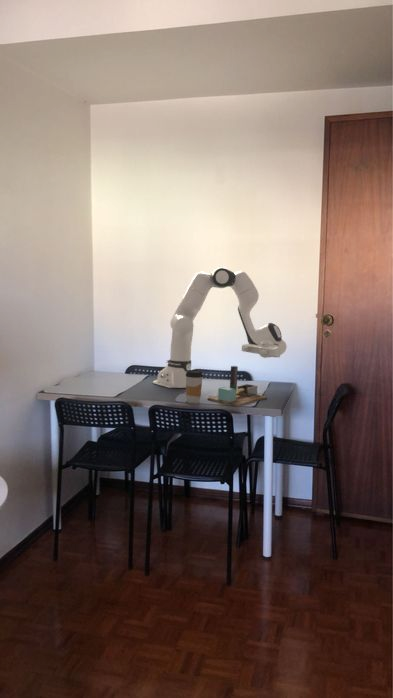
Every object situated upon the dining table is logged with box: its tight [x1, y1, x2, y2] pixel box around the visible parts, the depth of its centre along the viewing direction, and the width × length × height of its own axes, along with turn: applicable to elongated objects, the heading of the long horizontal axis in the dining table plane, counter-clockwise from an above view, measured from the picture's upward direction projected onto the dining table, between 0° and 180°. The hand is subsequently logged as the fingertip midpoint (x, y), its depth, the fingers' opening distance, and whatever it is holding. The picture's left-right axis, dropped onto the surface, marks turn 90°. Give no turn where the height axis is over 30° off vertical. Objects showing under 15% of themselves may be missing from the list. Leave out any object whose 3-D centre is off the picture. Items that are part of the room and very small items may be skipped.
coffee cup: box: [185, 369, 204, 404], centre depth 281 cm, size 8×8×15 cm
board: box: [207, 394, 267, 407], centre depth 292 cm, size 18×26×1 cm
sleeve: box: [237, 383, 258, 397], centre depth 298 cm, size 6×9×4 cm
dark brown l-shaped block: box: [229, 365, 245, 396], centre depth 289 cm, size 3×14×15 cm, turn 142°
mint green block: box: [217, 386, 236, 402], centre depth 284 cm, size 7×5×6 cm
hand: (252, 351), depth 298 cm, fingers open, 8 cm apart
